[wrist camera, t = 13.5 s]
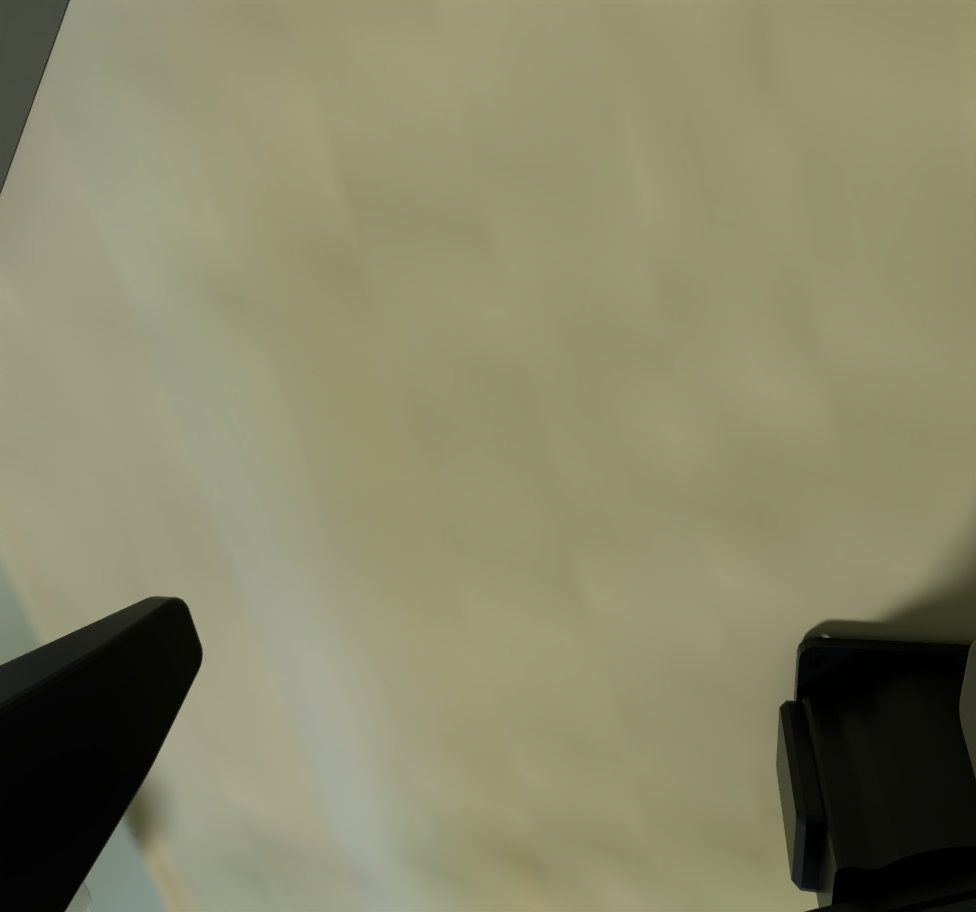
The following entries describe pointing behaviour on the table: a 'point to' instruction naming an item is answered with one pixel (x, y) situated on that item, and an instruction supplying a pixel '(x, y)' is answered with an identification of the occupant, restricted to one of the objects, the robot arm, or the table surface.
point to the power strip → (22, 64)
